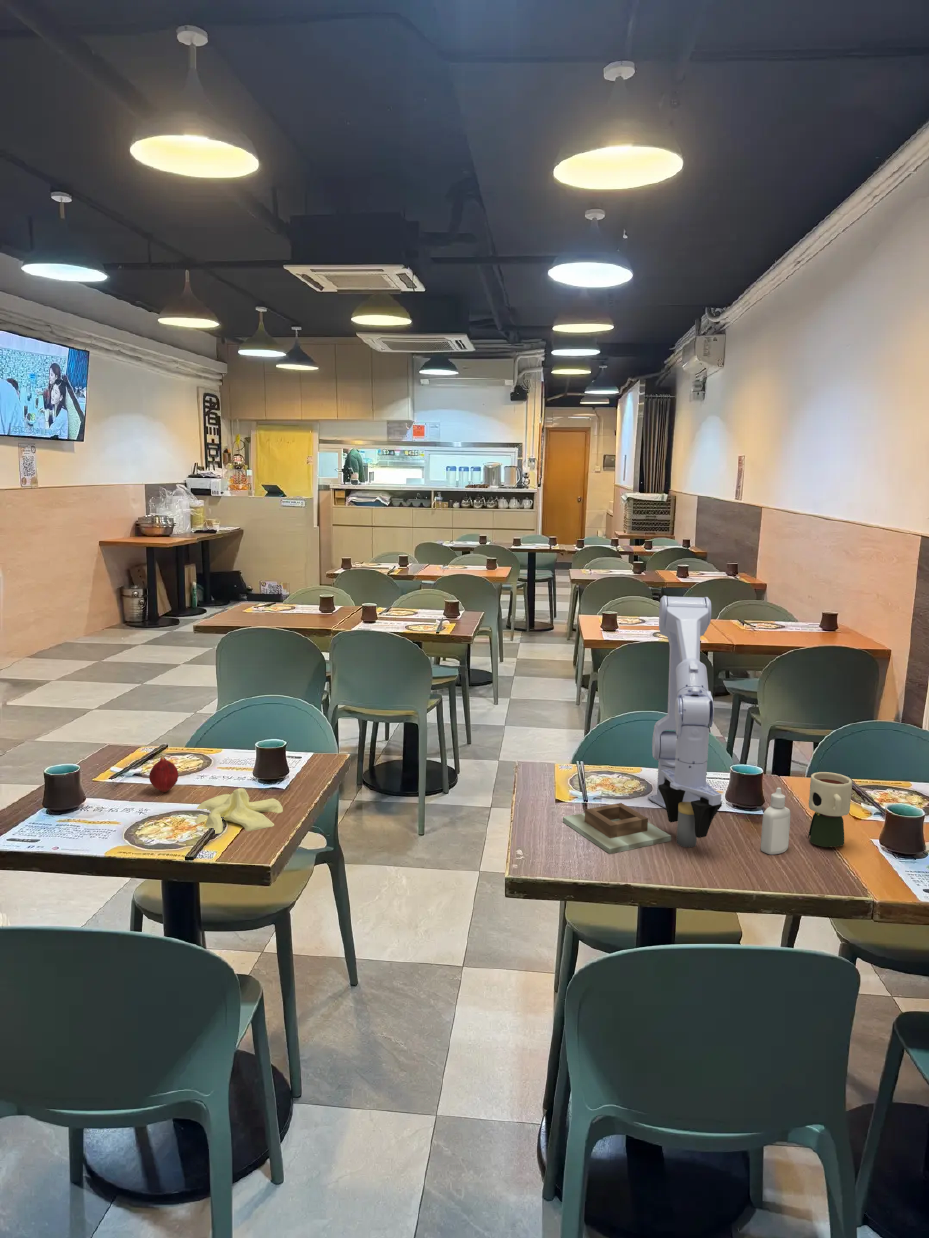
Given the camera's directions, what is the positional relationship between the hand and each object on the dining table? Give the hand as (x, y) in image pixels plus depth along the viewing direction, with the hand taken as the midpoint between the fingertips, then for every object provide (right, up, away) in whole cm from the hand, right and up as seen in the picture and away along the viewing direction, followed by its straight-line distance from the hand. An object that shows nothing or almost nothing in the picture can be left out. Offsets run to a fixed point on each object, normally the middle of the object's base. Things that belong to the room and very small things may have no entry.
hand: (687, 828), depth 157 cm
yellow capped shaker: (0, -3, +1) cm, 3 cm away
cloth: (-88, -1, +10) cm, 88 cm away
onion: (-106, +2, +23) cm, 109 cm away
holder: (-12, -2, +6) cm, 14 cm away
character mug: (+26, -3, +1) cm, 27 cm away
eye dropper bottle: (+16, -4, -2) cm, 16 cm away
